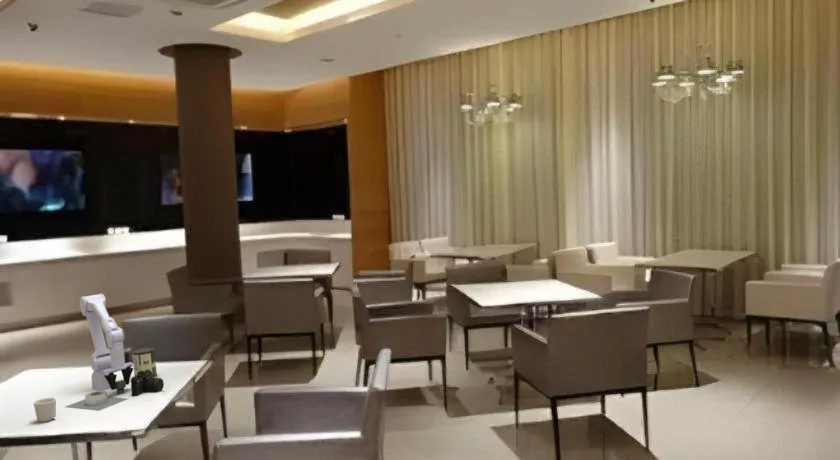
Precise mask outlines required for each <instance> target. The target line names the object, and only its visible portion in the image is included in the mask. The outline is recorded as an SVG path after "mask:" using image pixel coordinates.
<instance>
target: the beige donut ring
mask: <svg viewBox="0 0 840 460" xmlns="http://www.w3.org/2000/svg"><path fill="white" fill-rule="evenodd" d="M107 397H108V392H107V390H96V391H91V392H89V393H86V394H85V395H84V399H85V401H86V405H87V406H97V405H101V404H104V403H106V402H107V401H108V400H107Z"/></svg>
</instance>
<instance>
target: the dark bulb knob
mask: <svg viewBox="0 0 840 460" xmlns="http://www.w3.org/2000/svg"><path fill="white" fill-rule="evenodd" d="M126 387H127V385H126V381H125V380H124V379H123V380H122V379H121V380H116V389H115V390H116V395H123V394H125V388H126Z"/></svg>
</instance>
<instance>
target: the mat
mask: <svg viewBox="0 0 840 460" xmlns="http://www.w3.org/2000/svg"><path fill="white" fill-rule="evenodd" d="M107 400H108V401H107V402H106V403H104V404H101V405H97V406H87V405H86V401H85V398H84V399H81V400H80V401H76V402H74V403H71V404H69V405H66V406H64V408H69V409H79V410H88V411H98V412H100V411H102V410H104V409H105V410H106V409H107V408H109V407H110V408H111V406H114V405H117V404H120V403H121V402H124V401H127V400H128V398H124V397H114V396H112V397H111V396H107Z"/></svg>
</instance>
